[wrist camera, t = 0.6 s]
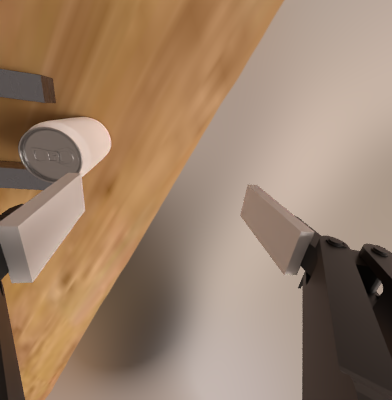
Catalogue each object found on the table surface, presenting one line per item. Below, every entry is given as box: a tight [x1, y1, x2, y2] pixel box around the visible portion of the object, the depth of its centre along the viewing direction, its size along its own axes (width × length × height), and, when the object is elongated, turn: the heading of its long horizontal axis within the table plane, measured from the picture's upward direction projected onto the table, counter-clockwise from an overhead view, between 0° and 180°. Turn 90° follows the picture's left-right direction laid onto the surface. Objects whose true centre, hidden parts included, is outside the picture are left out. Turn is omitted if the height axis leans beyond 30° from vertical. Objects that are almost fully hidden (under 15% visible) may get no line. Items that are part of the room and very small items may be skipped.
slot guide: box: [0, 69, 56, 190], centre depth 27 cm, size 15×12×3 cm
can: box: [18, 117, 111, 183], centre depth 25 cm, size 6×6×12 cm
